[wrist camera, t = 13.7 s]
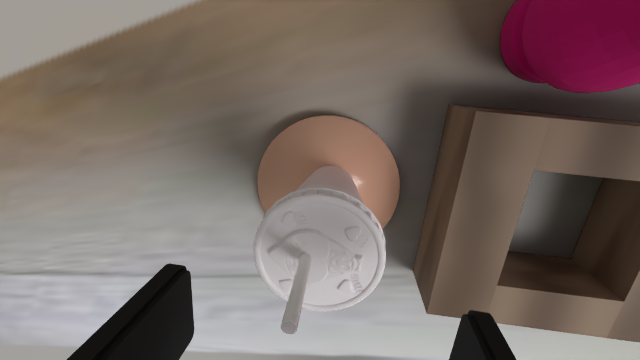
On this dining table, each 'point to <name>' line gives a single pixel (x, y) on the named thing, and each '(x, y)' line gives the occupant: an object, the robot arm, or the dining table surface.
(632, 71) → the pepper mill
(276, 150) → the tan round disc
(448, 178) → the bottle holder
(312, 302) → the smoothie
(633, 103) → the dining table surface
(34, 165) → the dining table surface
